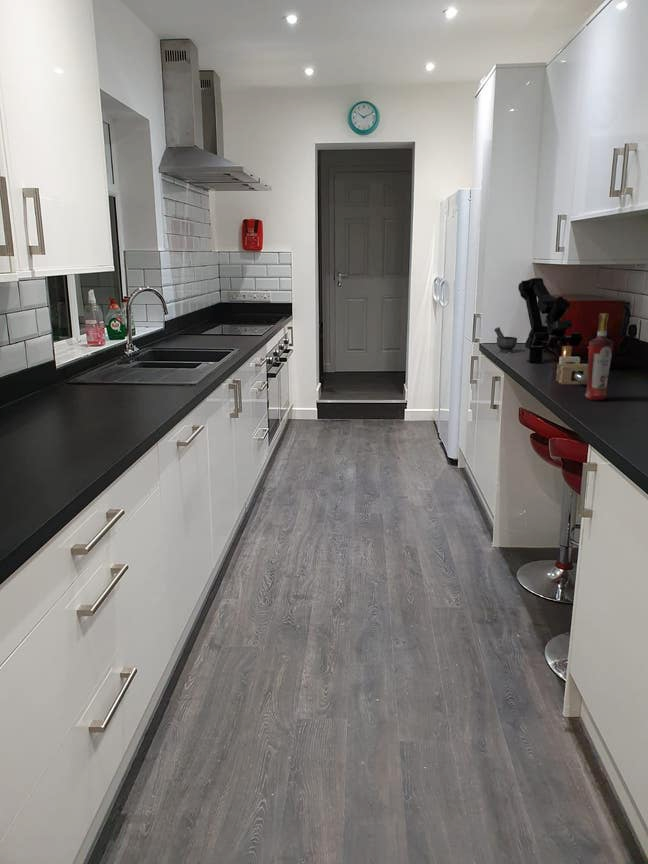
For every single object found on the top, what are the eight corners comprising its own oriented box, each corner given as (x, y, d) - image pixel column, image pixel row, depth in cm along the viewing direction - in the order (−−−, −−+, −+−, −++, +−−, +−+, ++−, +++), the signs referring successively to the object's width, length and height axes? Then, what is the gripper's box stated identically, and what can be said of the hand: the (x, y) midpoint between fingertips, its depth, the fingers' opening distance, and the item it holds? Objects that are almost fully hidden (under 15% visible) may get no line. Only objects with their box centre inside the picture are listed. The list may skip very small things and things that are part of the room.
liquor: (599, 396, 225) (608, 312, 217) (611, 401, 218) (621, 314, 211) (579, 397, 224) (587, 313, 216) (591, 402, 217) (599, 315, 209)
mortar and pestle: (513, 350, 328) (515, 326, 325) (519, 353, 319) (520, 328, 316) (490, 350, 328) (492, 326, 325) (495, 353, 319) (496, 328, 316)
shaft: (555, 375, 262) (557, 345, 259) (570, 375, 261) (573, 345, 258) (573, 386, 240) (576, 354, 237) (590, 386, 240) (593, 354, 236)
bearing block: (556, 380, 252) (557, 363, 251) (585, 380, 252) (587, 363, 250) (561, 384, 246) (563, 367, 244) (591, 384, 245) (593, 367, 244)
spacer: (557, 378, 257) (559, 356, 255) (575, 378, 257) (577, 356, 255) (560, 379, 254) (561, 357, 252) (578, 379, 254) (580, 357, 252)
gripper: (536, 312, 266) (541, 344, 259) (583, 312, 265) (590, 344, 258) (529, 330, 276) (534, 361, 268) (575, 329, 275) (581, 361, 267)
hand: (560, 356), depth 265 cm, fingers closed
